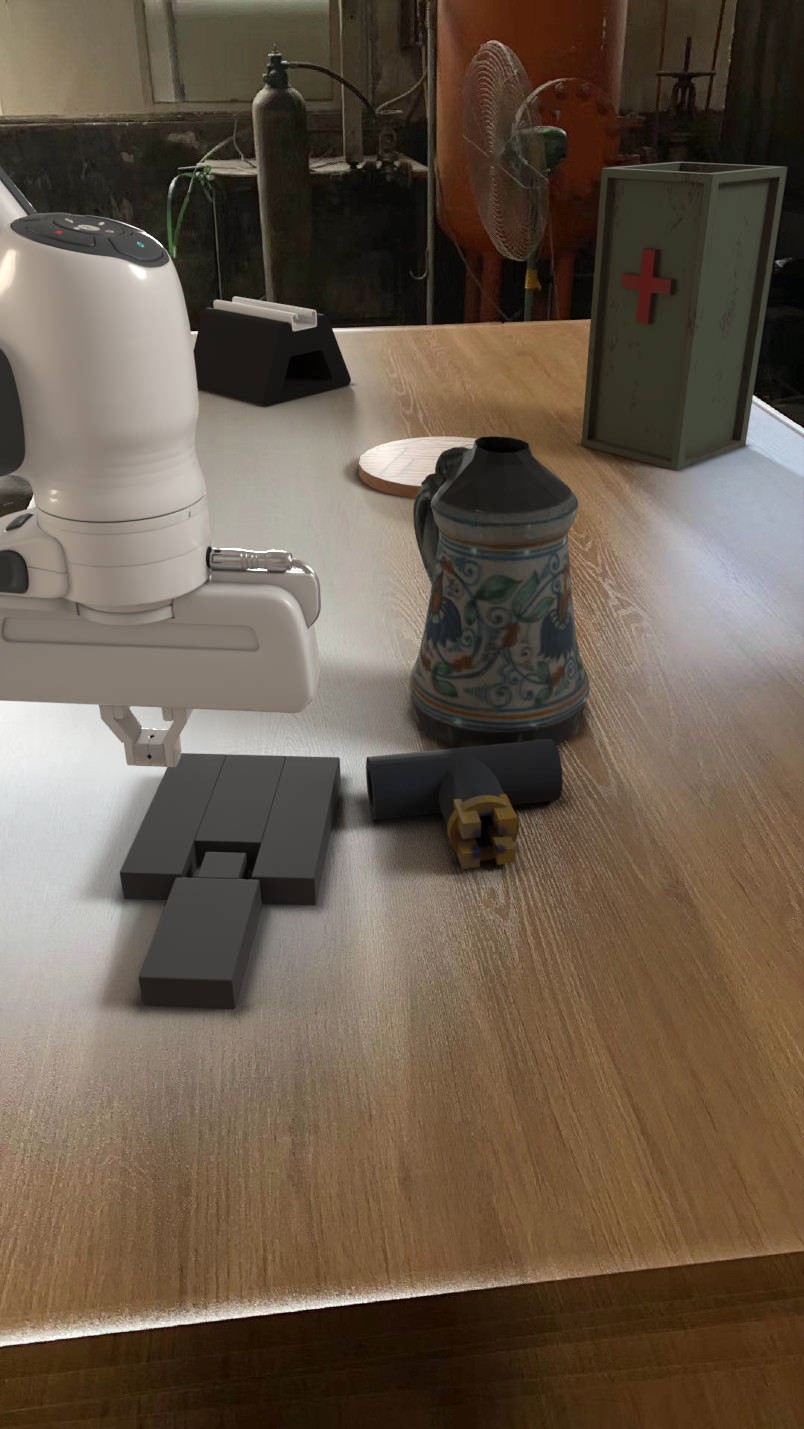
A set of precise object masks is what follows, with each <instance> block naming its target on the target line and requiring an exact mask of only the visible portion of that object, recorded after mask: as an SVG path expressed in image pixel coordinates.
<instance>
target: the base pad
mask: <svg viewBox="0 0 804 1429" xmlns="http://www.w3.org/2000/svg"><path fill="white" fill-rule="evenodd" d="M341 775H342V774H341V758H340V757H339V756H338V757H337V756H304V755H303V756H301V755H274V754H273V755H269V754H268V755H267V754H231V753H230V754H226V753H195V752H193V753H192V752H191V753H190V752H181V757H180V760H179V762H178V764H177V766H176V767H166V769H165V772H164V773H163V776H162V777H161V780H160V783H159V785H158V787H157V789H156V791H155V793H154V796H153V798H152V800H151V802H150V804H149V806H148V809H147V810H146V813H145V815H144V818H143V819H142V822H141V824H140V826H139V828H138V831H137V833H136V835H135V837H134V840H133V842H132V843H131V846H130V848H129V850H128V853H127V855H126V857H125V859H124V861H123V863H122V866H121V867H120V870H119V878H120V884H121V889H122V896H123V900H138V901H139V900H144V901H167V900H168V897H169V895H170V892H171V889H172V887H173V884H174V881H175V879H176V878H195V875H196V872H197V869H198V867H200V868H201V865H202V862H203V859H204V856H205V854H206V852H221V853H246V857H247V866H248V869H253V870H252V874H251V880H259V881H260V890H261V901H262V905H264V904H265V905H291V906H293V905H294V906H317V905H318V904H317V903H318V898H319V893H320V890H321V889H320V887H321V885H322V884H321V883H322V877H323V873H324V868H325V863H326V858H327V853H328V848H329V843H330V837H331V833H332V828H333V822H334V817H335V812H336V808H337V803H338V798H339V792H340V787H341V783H342V779H341V778H342V776H341Z"/></svg>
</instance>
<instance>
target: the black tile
mask: <svg viewBox="0 0 804 1429" xmlns="http://www.w3.org/2000/svg"><path fill="white" fill-rule="evenodd" d="M262 910H263V904H262V901H261V890H260V881H259V880H252V879H250V876H249V868H248V866H247V857H246V853H221V852H206V854H205V856H204V859H203V862H202V865H201V867H200V868H199V871H198V874H197V877H194V878H176V879H175V881H174V884H173V887H172V889H171V892H170V895H169V897H168V900H166V903H165V906H164V908H163V911H162V914H161V916H160V919H159V922H158V924H157V926H156V929H155V932H154V935H153V937H152V940H151V942H150V945H149V948H148V950H147V953H146V955H145V958H144V961H143V964H142V967H141V969H140V972H139V975H138V984H139V989H140V995H141V996H140V997H141V1000H142V1006H145V1007H168V1008H169V1007H170V1008H171V1007H172V1008H196V1009H197V1008H200V1009H201V1008H202V1009H225V1010H226V1009H227V1010H235V1009H236V1008H237V1005H238V1002H239V997H240V993H241V989H242V986H243V982H244V978H245V975H246V970H247V967H248V963H249V959H250V956H251V952H252V948H253V944H254V939H255V936H256V931H257V928H258V924H259V920H260V917H261V912H262Z"/></svg>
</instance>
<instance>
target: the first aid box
mask: <svg viewBox="0 0 804 1429" xmlns="http://www.w3.org/2000/svg"><path fill="white" fill-rule="evenodd" d="M787 173H788V166H778V165H757V164H737V163H736V164H735V163H731V164H730V163H714V162H697V161H696V162H695V161H694V162H693V161H671V162H658V163H657V162H656V163H646V164H636V165H635V164H633V165H623V166H612V167H610V166H609V167H601V173H600V174H601V175H600V189H599V202H598V204H599V205H598V216H597V229H596V242H595V243H596V244H595V256H594V267H593V268H594V271H593V284H592V296H591V300H592V301H591V309H590V323H589V324H590V325H589V338H588V350H587V351H588V352H587V364H586V378H585V391H584V392H585V393H584V403H583V404H584V406H583V415H582V416H583V418H582V432H581V446H583V447H587V448H591V449H594V450H599V451H601V452H602V451H603V452H606V453H609V454H614V455H618V456H621V457H625V458H629V459H632V460H636V461H639V462H644V463H647V464H651V465H655V466H658V467H662V468H666V469H669V470H673V471H680V470H682V469H685V468H688V467H690V466H691V467H692V466H694V465H696V464H699V463H701V462H704V461H708V460H711V459H713V458H715V457H719V456H721V455H724V454H727V453H730V452H732V451H735V450H737V449H740V448H743V447H746V444H747V438H748V431H749V426H750V425H749V424H750V418H751V412H752V405H753V398H754V392H755V384H756V378H757V371H758V365H759V359H760V352H761V346H762V339H763V331H764V325H765V319H766V313H767V312H766V311H767V306H768V298H769V293H770V292H769V291H770V285H771V281H772V280H771V279H772V272H773V265H774V261H775V260H774V259H775V253H776V246H777V240H778V233H779V227H780V221H781V220H780V219H781V214H782V207H783V200H784V194H785V186H786V180H787Z"/></svg>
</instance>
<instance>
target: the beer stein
mask: <svg viewBox="0 0 804 1429" xmlns="http://www.w3.org/2000/svg"><path fill="white" fill-rule="evenodd" d="M476 439H477V440H475V442H474V445H473V448H471V449H470V448H465V447H454V448H451V449H448V450H446V451H443V452H442V454H441V455H440V457H439V458H438V460H437V463H436V467H435V473H433V474H430V475H428V476H427V477H426V479H425V480H424V481H423V482H422V483H421V485H422V487H421V488H420V490H419V492H418V494H417V496H416V498H414V503H413V511H412V521H413V530H414V535H415V540H416V544H417V548H418V552H419V554H420V558H421V561H422V564H423V567H424V570H425V572H426V574H427V577H428V579H429V582H430V585H431V587H430V594H429V599H428V606H427V611H426V617H425V621H424V622H425V623H424V629H423V633H422V638H421V643H420V647H419V651H418V654H417V657H416V660H415V662H414V664H413V666H412V668H411V671H410V674H409V678H408V690H409V696H410V700H411V703H412V706H413V715H414V717H415V719H416V721H417V723H418V725H419V727H420V729H421V730H423V731H424V732H425V733H426V734H427V735H428V736H429V737H431V738H433V739H435V740H436V741H439V743H442V744H443V745H445V746H448V748H449V747H450V748H451V749H453V748H464V747H474V746H484V745H494V744H504V743H515V742H525V741H535V740H545V739H552V740H553V741H554V742H555V744H556V746H558V745H560V744H561V743H564V742H565V741H567V740H568V739H571V738H572V737H574V736H576V735H578V731H579V729H580V724H581V721H582V717H583V714H584V710H585V706H586V703H587V701H588V698H589V695H590V679H589V675H588V672H587V671H586V669H585V667H584V663H583V661H582V658H581V654H580V649H579V645H578V636H577V630H576V622H575V611H574V601H573V589H572V577H571V576H572V575H571V562H570V551H569V531H570V529H571V527H572V526H573V524H574V523H575V521H576V516H577V512H578V509H579V500H578V498H577V495H576V494H575V493H574V492H573V490H572V489H571V487H570V486H569V485H568V484H567V483H566V482H564V481H563V479H561V477H559V476H558V475H556V474H555V473H553V472H552V471H551V470H550V469H549V468H547V467H546V466H545V465H544V464H542V463H541V462H540V461H539V460H538V459H537V458H535V456H534V455H533V454H532V453H533V452H532V450H531V447H530V443H529V442H527V441H524V440H522V439H518V438H514V437H507V436H495V435H491V436H481V437H479V438H476Z"/></svg>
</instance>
